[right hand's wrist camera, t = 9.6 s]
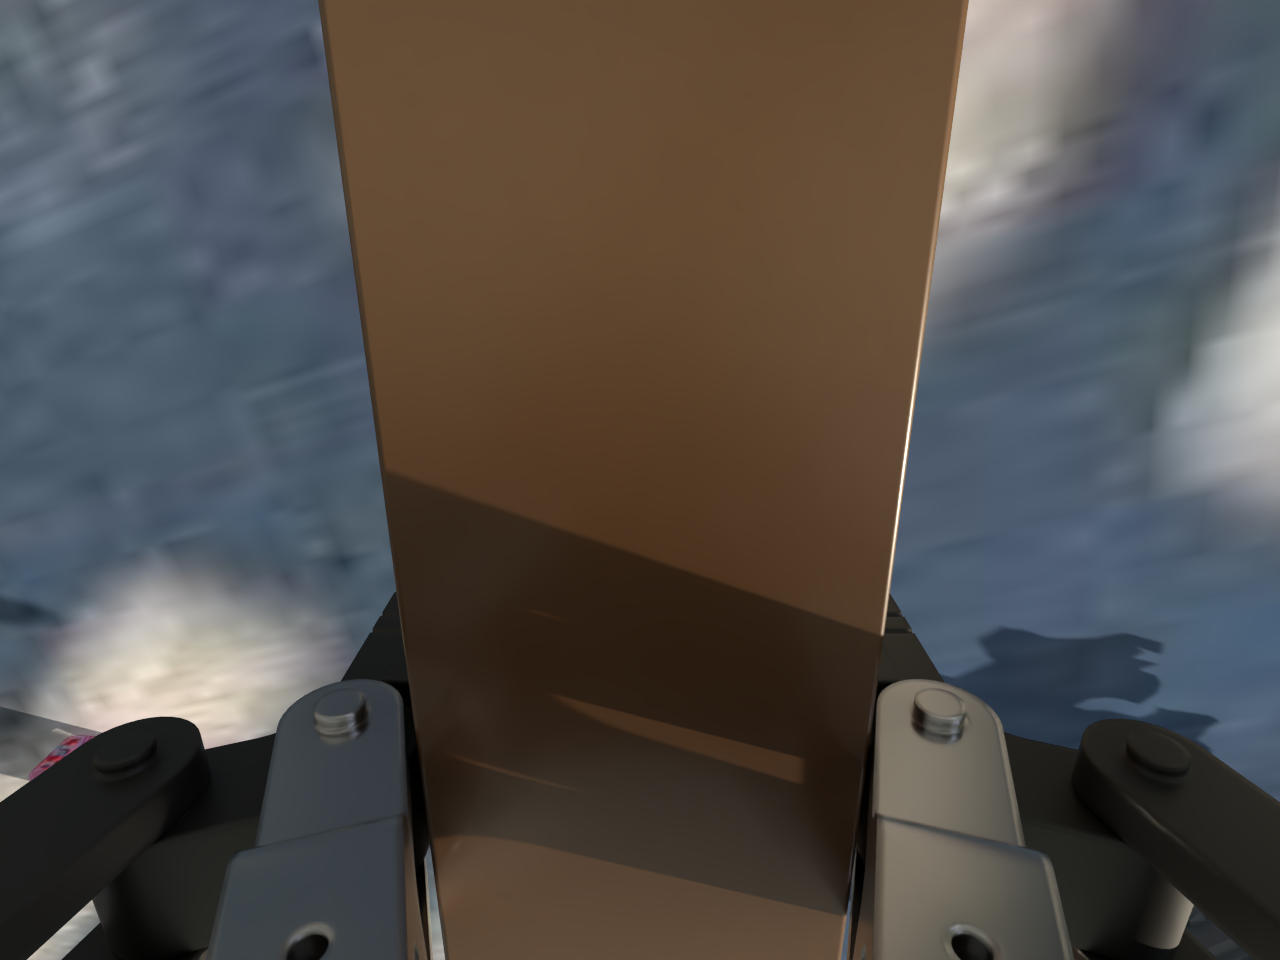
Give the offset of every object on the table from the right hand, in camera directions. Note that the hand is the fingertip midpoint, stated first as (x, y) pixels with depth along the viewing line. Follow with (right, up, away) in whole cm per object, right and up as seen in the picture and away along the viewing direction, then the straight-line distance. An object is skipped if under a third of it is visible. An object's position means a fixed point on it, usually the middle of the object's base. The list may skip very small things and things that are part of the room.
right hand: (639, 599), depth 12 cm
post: (0, +35, -11) cm, 37 cm away
